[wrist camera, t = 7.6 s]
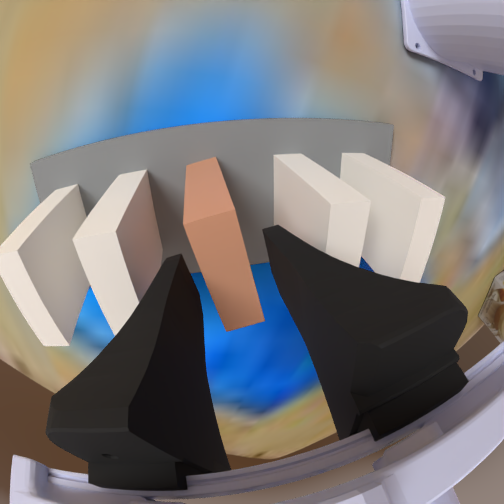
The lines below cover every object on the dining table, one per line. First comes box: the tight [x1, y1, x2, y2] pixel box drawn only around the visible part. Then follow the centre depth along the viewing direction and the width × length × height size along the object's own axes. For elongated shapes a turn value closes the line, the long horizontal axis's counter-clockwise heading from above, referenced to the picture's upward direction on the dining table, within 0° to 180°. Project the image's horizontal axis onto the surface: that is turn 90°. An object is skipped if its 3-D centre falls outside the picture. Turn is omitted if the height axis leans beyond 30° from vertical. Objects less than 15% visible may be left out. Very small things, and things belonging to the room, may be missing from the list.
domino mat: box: [30, 118, 394, 287], centre depth 16 cm, size 22×9×1 cm, turn 93°
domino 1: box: [0, 184, 90, 346], centre depth 11 cm, size 2×5×7 cm, turn 2°
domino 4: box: [274, 154, 371, 267], centre depth 13 cm, size 2×5×7 cm, turn 3°
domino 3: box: [183, 157, 265, 332], centre depth 12 cm, size 2×5×7 cm, turn 13°
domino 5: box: [340, 153, 445, 283], centre depth 14 cm, size 2×5×7 cm, turn 3°
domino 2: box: [72, 170, 163, 336], centre depth 12 cm, size 2×5×7 cm, turn 2°
